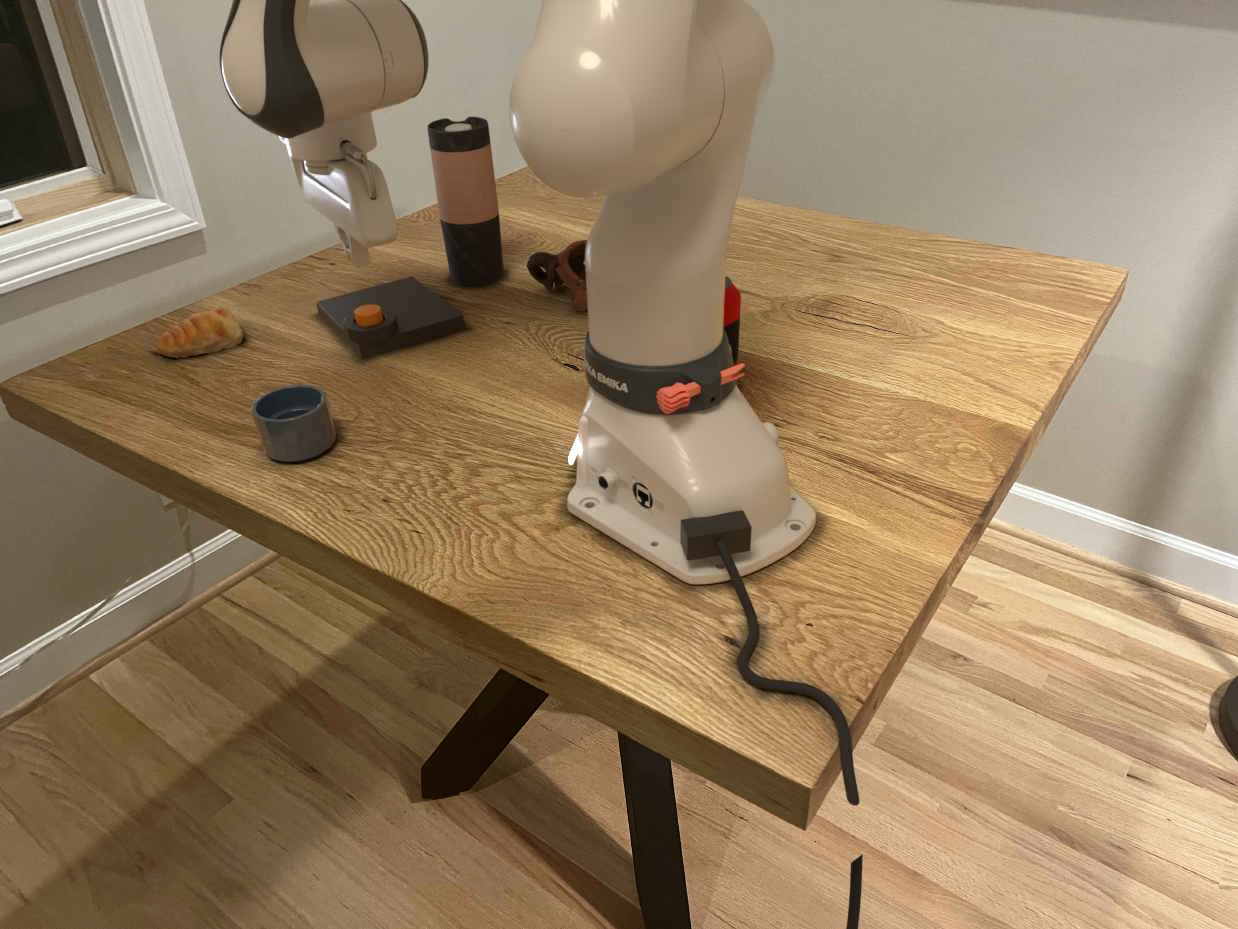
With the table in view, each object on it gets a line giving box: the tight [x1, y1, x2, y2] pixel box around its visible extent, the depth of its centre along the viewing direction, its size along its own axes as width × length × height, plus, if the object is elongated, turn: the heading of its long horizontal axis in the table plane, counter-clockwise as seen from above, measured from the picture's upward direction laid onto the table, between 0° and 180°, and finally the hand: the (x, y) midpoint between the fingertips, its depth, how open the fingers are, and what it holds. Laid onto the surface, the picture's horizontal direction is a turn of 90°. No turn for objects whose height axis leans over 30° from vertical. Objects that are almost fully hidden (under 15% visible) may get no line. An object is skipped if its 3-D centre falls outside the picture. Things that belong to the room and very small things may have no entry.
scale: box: [315, 275, 466, 361], centre depth 110 cm, size 16×13×4 cm
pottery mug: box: [526, 239, 588, 313], centre depth 114 cm, size 12×10×8 cm
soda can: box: [723, 275, 742, 386], centre depth 92 cm, size 8×8×12 cm
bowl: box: [250, 384, 337, 463], centre depth 87 cm, size 7×7×5 cm
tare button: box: [354, 305, 383, 326], centre depth 104 cm, size 3×3×2 cm
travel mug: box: [427, 116, 504, 288], centre depth 116 cm, size 8×8×20 cm
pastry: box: [155, 305, 244, 360], centre depth 106 cm, size 9×7×4 cm
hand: (358, 262), depth 99 cm, fingers closed
